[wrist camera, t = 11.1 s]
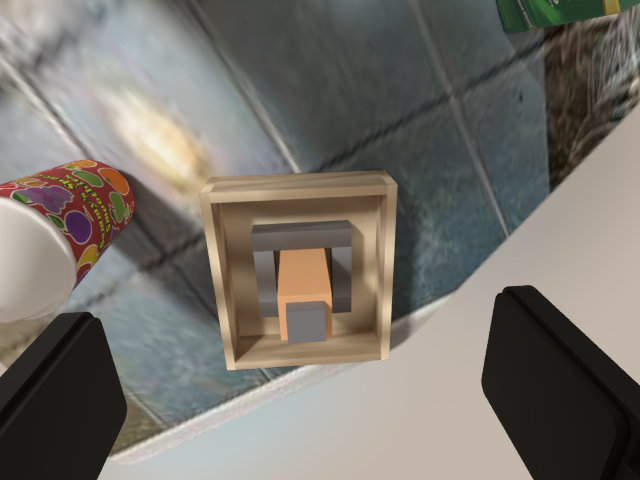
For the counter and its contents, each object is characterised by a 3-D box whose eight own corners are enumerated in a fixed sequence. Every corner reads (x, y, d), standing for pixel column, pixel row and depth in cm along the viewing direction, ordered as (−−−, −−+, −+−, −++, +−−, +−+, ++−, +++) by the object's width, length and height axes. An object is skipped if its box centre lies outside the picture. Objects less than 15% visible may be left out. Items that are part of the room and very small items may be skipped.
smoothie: (168, 196, 37) (44, 328, 19) (110, 251, 39) (-53, 421, 20) (90, 127, 34) (-145, 201, 16) (33, 190, 36) (-238, 322, 18)
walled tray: (210, 177, 36) (198, 194, 32) (384, 169, 37) (397, 184, 32) (234, 338, 44) (227, 370, 39) (379, 328, 44) (388, 359, 40)
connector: (281, 241, 38) (276, 305, 28) (322, 238, 39) (333, 302, 28) (283, 277, 40) (280, 350, 30) (323, 274, 40) (333, 347, 30)
